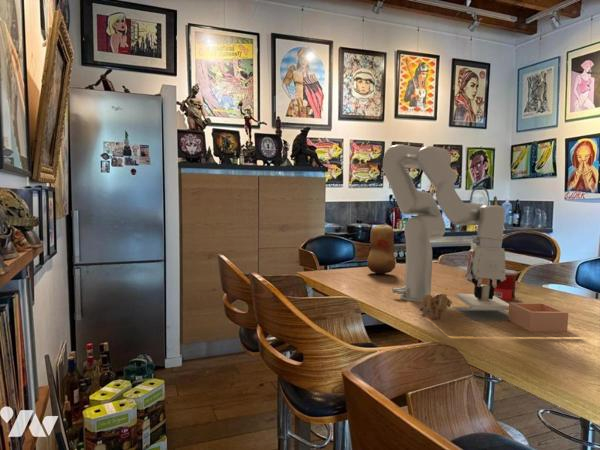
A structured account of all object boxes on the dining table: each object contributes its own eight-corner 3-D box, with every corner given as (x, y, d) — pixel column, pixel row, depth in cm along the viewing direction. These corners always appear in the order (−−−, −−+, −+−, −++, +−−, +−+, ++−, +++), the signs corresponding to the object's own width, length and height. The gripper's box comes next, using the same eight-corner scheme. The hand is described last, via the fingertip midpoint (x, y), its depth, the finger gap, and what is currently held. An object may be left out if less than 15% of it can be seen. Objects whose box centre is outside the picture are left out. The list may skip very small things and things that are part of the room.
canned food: (517, 303, 148) (518, 273, 148) (494, 301, 150) (495, 272, 149) (510, 298, 156) (512, 270, 155) (488, 296, 157) (490, 269, 157)
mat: (474, 322, 123) (474, 320, 123) (452, 308, 139) (452, 306, 139) (525, 323, 124) (525, 321, 124) (497, 308, 140) (497, 307, 140)
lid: (472, 308, 125) (474, 289, 125) (455, 296, 138) (456, 279, 138) (513, 310, 126) (515, 291, 125) (492, 298, 139) (493, 281, 138)
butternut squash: (366, 276, 196) (368, 225, 194) (366, 271, 209) (368, 223, 208) (395, 277, 194) (397, 226, 192) (393, 272, 207) (395, 224, 205)
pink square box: (529, 333, 114) (530, 312, 114) (508, 321, 125) (509, 302, 125) (567, 333, 114) (568, 312, 114) (542, 321, 125) (543, 302, 125)
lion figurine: (453, 324, 121) (454, 295, 121) (438, 325, 120) (439, 296, 119) (426, 311, 135) (427, 284, 135) (412, 312, 134) (413, 285, 133)
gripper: (469, 243, 126) (464, 300, 128) (520, 246, 127) (514, 302, 129) (459, 240, 134) (454, 294, 135) (507, 242, 134) (501, 296, 136)
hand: (483, 297), depth 132 cm, fingers closed on lid, 3 cm apart
